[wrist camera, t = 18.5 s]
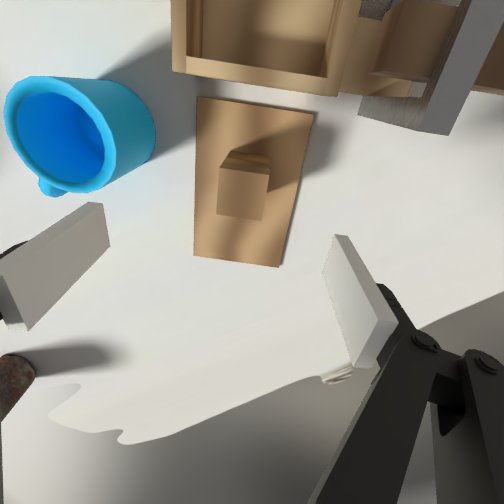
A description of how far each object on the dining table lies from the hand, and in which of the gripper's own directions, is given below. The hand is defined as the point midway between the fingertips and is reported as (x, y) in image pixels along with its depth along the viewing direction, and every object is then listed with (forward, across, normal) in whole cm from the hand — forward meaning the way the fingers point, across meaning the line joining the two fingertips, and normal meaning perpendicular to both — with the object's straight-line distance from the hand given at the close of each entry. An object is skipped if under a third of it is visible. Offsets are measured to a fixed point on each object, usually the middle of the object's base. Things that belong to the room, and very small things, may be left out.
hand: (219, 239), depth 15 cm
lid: (+16, +1, -2) cm, 16 cm away
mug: (+16, -14, +1) cm, 21 cm away
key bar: (+8, +14, +11) cm, 19 cm away
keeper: (+15, +12, +11) cm, 22 cm away
